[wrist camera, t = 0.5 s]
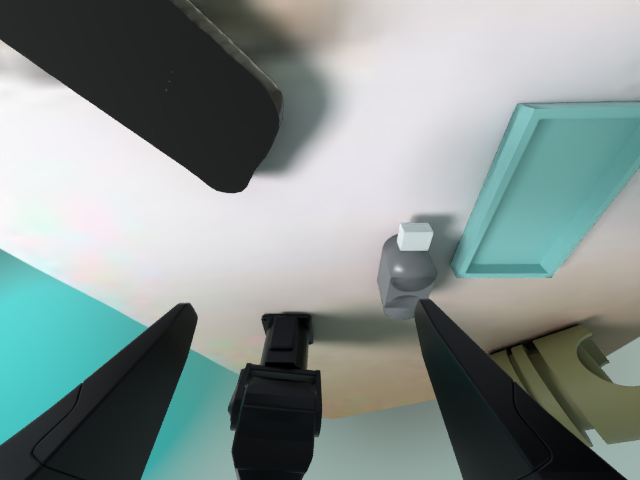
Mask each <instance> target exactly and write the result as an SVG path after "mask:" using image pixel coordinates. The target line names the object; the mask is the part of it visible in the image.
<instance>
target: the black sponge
mask: <svg viewBox="0 0 640 480" xmlns="http://www.w3.org/2000/svg"><path fill="white" fill-rule="evenodd" d="M0 40H2V41H3V42H4V43H6V44H7V45H9V46H10V47H12V48H13V49H15V50H16V51H17V52H19V53H20V54H22V55H23V56H25V57H26V58H27V59H29V60H30V61H32V62H33V63H34V64H36V65H37V66H39V67H40V68H41V69H43V70H44V71H46V72H47V73H48V74H50V75H51V76H53V77H55V78H56V79H58V80H59V81H60V82H62V83H63V84H65V85H66V86H67V87H69V88H70V89H72V90H73V91H74V92H76V93H77V94H79V95H80V96H82V97H83V98H85V99H86V100H88V101H89V102H91V103H92V104H94V105H95V106H97V107H98V108H99V109H101V110H102V111H104V112H105V113H107V114H108V115H109V116H111V117H112V118H114V119H115V120H117V121H118V122H120V123H121V124H123V125H124V126H125V127H127V128H128V129H130V130H131V131H133V132H134V133H136V134H137V135H139V136H140V137H141V138H143V139H144V140H146V141H147V142H149V143H150V144H152V145H153V146H154V147H156V148H157V149H159V150H160V151H162V152H163V153H165V154H166V155H167V156H169V157H170V158H172V159H173V160H175V161H176V162H178V163H179V164H181V165H182V166H184V167H185V168H186V169H188V170H189V171H190V172H192V173H193V174H194V175H196V176H197V177H198V178H200V179H201V180H202V181H203V182H205V183H206V184H207V185H208V186H210V187H211V188H213V189H215V190H216V191H220V192H225V193H237V192H242V191H243V190H244V189H245V188H246V187H247V185H248V183H249V181H250V179H251V177H252V175H253V173H254V171H255V170H256V168H257V167H258V166H259V164H260V163H261V162H262V161H263V159H264V158H265V157H266V155H267V154H268V152H269V150H270V148H271V146H272V144H273V142H274V139H275V137H276V135H277V132H278V130H279V127H280V124H281V122H282V118H283V97H282V93H281V91H280V89H279V88H278V86H277V85H276V84H275V83H274V82H273V81H272V80H271V79H270V78H269V77H268V76H267V75H266V74H265V73H264V72H263V71H262V70H261V69H259V68H258V67H257V66H256V65H255V64H254V63H253V62H252V60H251V59H250V58H249V57H248V56H246V55H245V54H244V53H243V52H242V51H241V50H240V49H239V48H238V47H237V46H236V45H235V44H234V43H233V42H232V40H231V39H229V38H228V37H227V36H226V35H225V34H224V33H223V32H221V31H220V30H219V29H218V28H217V27H216V26H215V25H214V24H213V23H212V22H211V21H210V20H209V19H208V18H206V17H205V16H204V15H203V14H202V13H201V11H199V10H198V9H197V8H196V7H195V6H194V5H193V4H192V3H191V2H190V1H189V0H0Z"/></svg>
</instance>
